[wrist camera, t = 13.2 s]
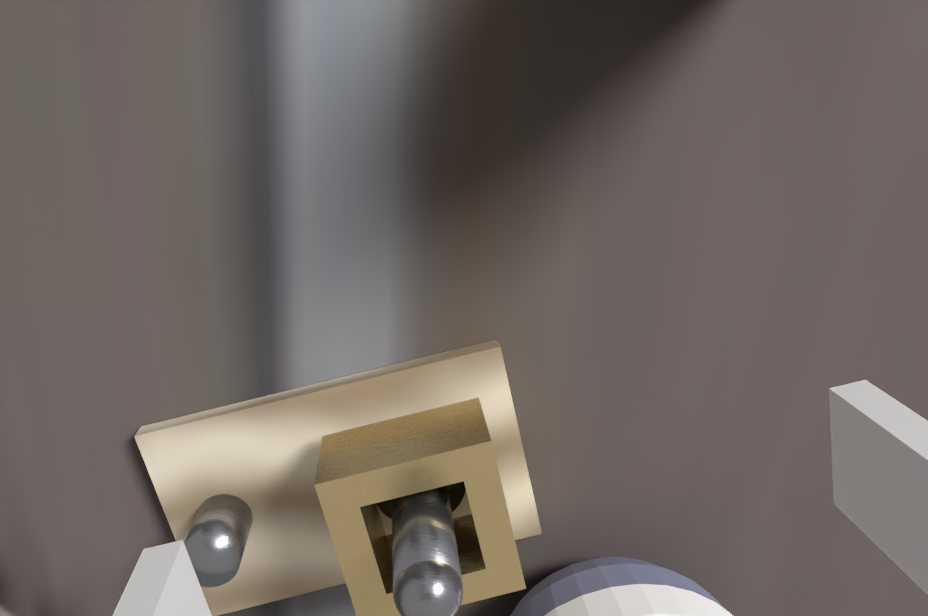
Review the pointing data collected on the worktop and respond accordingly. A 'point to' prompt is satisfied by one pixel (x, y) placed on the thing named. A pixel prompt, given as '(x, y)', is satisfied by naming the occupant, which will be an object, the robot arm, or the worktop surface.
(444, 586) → the tall steel post
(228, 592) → the birch board
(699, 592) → the bowl
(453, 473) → the brass collar
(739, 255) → the worktop surface
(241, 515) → the short steel post
